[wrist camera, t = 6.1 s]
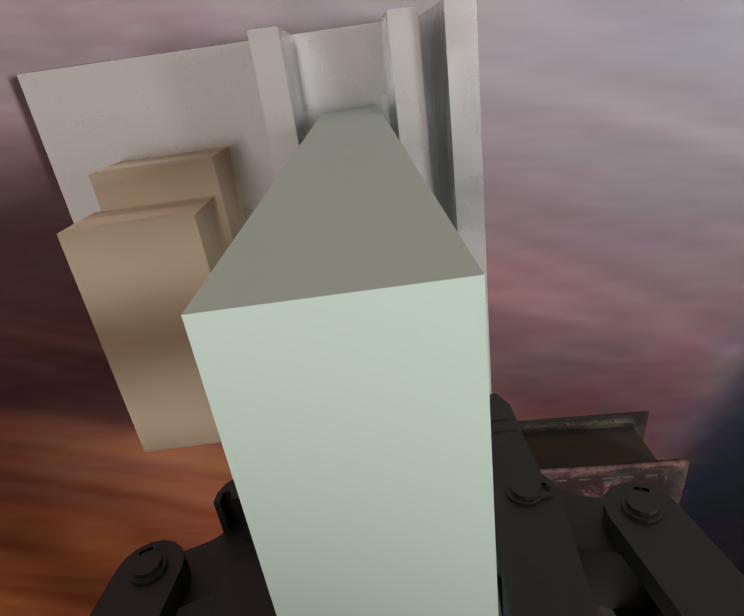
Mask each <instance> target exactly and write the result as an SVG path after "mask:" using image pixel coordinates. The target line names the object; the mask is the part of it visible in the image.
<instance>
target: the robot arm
mask: <svg viewBox="0 0 744 616" xmlns="http://www.w3.org/2000/svg"><path fill="white" fill-rule="evenodd" d="M489 395H490V419H491V443H492V468H493V492H494V516H495V541H496V565H497V589H498V606H499V611H500V616H598V614H597V611H596V608H595V605H596V606H600V608H601V610H602V612H603V613H604V615H605V616H744V576H743V574H742V573H741V572H740V571H739V570H738V569H737V568H736V567H735V566H734V565H733V564H732V562H731V561H730V560H729V559H728V558H727V557H726V556H725V555H724V554H723V553H722V552H721V550H720V549H719V548H718V547H717V546H716V545H715V544H714V543H713V542H712V541H711V540H710V538H709V537H708V536H707V535H706V534H705V533H704V532H703V531H702V530H701V529H700V528H699V526H698V525H697V524H696V523H695V522H694V521H693V520H692V519H691V518H690V517H689V516H688V514H687V513H686V512H685V511H684V510H683V509H682V508H681V507H680V506H679V505H678V504H677V503H676V501H675V500H673V499H672V498H671V497H670V496H669V495H667V494H666V493H665V492H664V491H662V490H659V489H657V488H655V487H653V486H651V485H647V484H642V483H637V482H627V483H620V484H617V485H615V486H612V487H610V489H609V490H608V491H607V492H606V493H605V495H604V499H602V498H594V497H587V496H580V495H575V494H571V493H568V492H565V491H563V490H560V489H558V488H557V487H556V486H555V484H554V482H552V481H551V480H550V479H549V478H547V477H546V476H545V475H542V473H541V472H540V470H539V467H538V465H537V463H536V461H535V459H534V457H533V454H532V452H531V450H530V448H529V446H528V444H527V441H526V439H525V437H524V435H523V433H522V431H521V429H520V426H519V424H518V422H517V420H516V418H515V416H514V413H513V411H512V409H511V407H510V405H509V404H508V403H507V402H506V401H505V400H503V399H502V398H501V397H500V396H498V395H497V394H489ZM214 506H215V508H216V511H217V514H218V517H219V520H220V523H221V526H222V529H223V532H224V533H223V534H221V535H220V536H219V537H217V538H215V539H213V540H211V541H209V542H207V543H205V544H202V545H199V546H197V547H194V548H192V549H189V550H187V551H183V549H182V547H181V546H179V545H178V544H177V543H176V542H173V541H167V540H162V541H156V542H151V543H149V544H147V545H145V546H143V547H141V548H138V549H137V550H136V551H135V552H133V553H132V554H131V555H129V556H128V557H127V558H126V559H125V560H124V561H123V563H122V564H121V565H120V566H119V568H118V569H117V571H116V572H115V574H114V576H113V577H112V579H111V581H110V582H109V584H108V586H107V587H106V589H105V591H104V593H103V594H102V596H101V598H100V599H99V601H98V603H97V604H96V606H95V608H94V609H93V611H92V613H91V614H90V616H277V615H276V612H275V609H274V606H273V603H272V599H271V596H270V593H269V590H268V587H267V584H266V581H265V577H264V574H263V571H262V568H261V565H260V562H259V559H258V555H257V552H256V549H255V546H254V543H253V540H252V536H251V533H250V530H249V527H248V524H247V521H246V518H245V514H244V511H243V508H242V505H241V502H240V499H239V496H238V492H237V489H236V486H235V483H234V480H231V481H229V482H228V483H226V484H225V485H224V486H223V487H222V489H221V490H220V491H219V492H218V493H217V495H216V498H215V500H214Z"/></svg>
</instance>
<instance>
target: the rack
mask: <svg viewBox="0 0 744 616" xmlns="http://www.w3.org/2000/svg"><path fill="white" fill-rule="evenodd" d="M247 34H248V39H249V41H245V42H238V43H231V44H224V45H217V46H210V47H203V48H196V49H190V50H183V51H176V52H169V53H162V54H155V55H148V56H142V57H135V58H128V59H121V60H114V61H107V62H100V63H93V64H87V65H80V66H73V67H66V68H59V69H52V70H45V71H39V72H32V73H25V74H18V75H17V77H18V80H19V82H20V85H21V88H22V90H23V93H24V95H25V98H26V101H27V103H28V106H29V108H30V111H31V114H32V116H33V119H34V121H35V124H36V127H37V129H38V132H39V134H40V137H41V139H42V142H43V145H44V147H45V150H46V152H47V155H48V158H49V160H50V163H51V165H52V168H53V171H54V173H55V176H56V178H57V181H58V184H59V186H60V189H61V191H62V194H63V197H64V199H65V202H66V204H67V207H68V209H69V212H70V215H71V217H72V220H73V222H74V224H75V223H77V222H78V221H80V220H82V219H84V218H85V217H87V216H89V215H91V214H92V213H94V212H101V209H100V206H99V203H98V200H97V198H96V195H95V192H94V189H93V187H92V184H91V181H90V178H89V175H88V174H91V173H93V172H96V171H98V170H101V169H103V168H105V167H108V166H110V165H113V164H115V163H117V162H122V161H129V160H136V159H143V158H150V157H157V156H164V155H172V154H179V153H186V152H193V151H200V150H207V149H214V148H221V147H229V151H230V155H231V160H232V164H233V168H234V172H235V176H236V180H237V185H238V189H239V193H240V197H241V201H242V205H243V210H244V214H245V218H246V222H247V220H248V219H249V217H250V216H251V214H252V213H253V212H254V210H255V209H256V207H257V206H258V204H259V203H260V201H261V200H262V199H263V197H264V196H265V194H266V193H267V191H268V190H269V189H270V187H271V186H272V184H273V183H274V181H275V180H276V179H277V177H278V176H279V174H280V173H281V171H282V170H283V169H284V167H285V166H286V164H287V163H288V161H289V160H290V159H291V157H292V156H293V154H294V153H295V151H296V150H297V149H298V147H299V146H300V144H301V143H302V141H303V140H304V139H305V137H306V136H307V134H308V133H309V131H310V130H311V129H312V127H313V126H314V124H315V123H316V121H317V120H318V119H319V117H320V116H321V114H323V113H330V112H338V111H345V110H352V109H359V108H366V107H373V106H378V108H379V109H380V111H381V112H382V114H383V115H384V117H385V119H386V120H387V122H388V123H389V125H390V127H391V128H392V130H393V131H394V133H395V134H396V136H397V138H398V139H399V141H400V142H401V144H402V145H403V147H404V149H405V150H406V152H407V153H408V155H409V156H410V158H411V160H412V161H413V163H414V164H415V166H416V167H417V169H418V171H419V172H420V174H421V175H422V177H423V178H424V180H425V182H426V183H427V185H428V186H429V188H430V190H431V191H432V193H433V194H434V196H435V197H436V199H437V201H438V202H439V204H440V205H441V207H442V208H443V210H444V212H445V213H446V215H447V216H448V218H449V219H450V221H451V223H452V224H453V226H454V227H455V229H456V230H457V232H458V234H459V235H460V237H461V238H462V240H463V242H464V243H465V245H466V246H467V248H468V249H469V251H470V253H471V254H472V256H473V257H474V259H475V260H476V262H477V264H478V265H479V267H480V268H481V270H482V271H483V273H484V275H485V297H486V322H487V346H488V370H489V394H491V374H490V347H489V321H488V295H487V269H486V243H485V217H484V190H483V164H482V138H481V112H480V86H479V60H478V33H477V7H476V0H441V1H440V2H438V3H437V4H436V5H434V6H433V7H432V8H430V9H429V10H427V11H426V12H425V13H423V14H422V15H421V16H418V11H417V6H411V7H404V8H397V9H390V10H386V12H385V13H384V15H383V16H382V18H381V20H380V21H379V22H375V23H368V24H361V25H354V26H347V27H341V28H334V29H327V30H320V31H313V32H306V33H299V34H291V33H289V32H287V31H285V30H283V29H282V28H280V27H278V26H274V27H267V28H260V29H253V30H247Z"/></svg>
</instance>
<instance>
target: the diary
mask: <svg viewBox="0 0 744 616" xmlns="http://www.w3.org/2000/svg"><path fill="white" fill-rule="evenodd" d="M648 415H649V411H642V412H629V413H616V414H603V415H590V416H577V417H564V418H551V419H538V420H525V421H517V422H518V424H519V426H520V429H521V431H522V433H523V435H524V437H525V439H526V441H527V444H528V446H529V448H530V450H531V452H532V454H533V457H534V459H535V461H536V463H537V465H538V467H539V470H540V472H541V473H542V475H545V476H546V477H547V478H549V479H550V480H551V481H552V482H554V484H555V486H556V487H557V488H558V489H560V490H563V491H565V492H568V493H571V494H575V495H580V496H587V497H594V498H602V499H604V495H605V493H606V492H607V491H608V490H609V489H610V487H612V486H615V485H617V484H620V483H627V482H637V483H642V484H647V485H651V486H653V487H655V488H657V489H659V490H662V491H664V492H665V493H666V494H667V495H669V496H670V497H671V498H672V499H673V500H675V501H676V503H677V504H678V505H679V502H680V498H681V494H682V491H683V487H684V483H685V479H686V475H687V471H688V467H689V463H690V462H689V459H673V460H659V461H657V459H656V458H655V457H654V455H653V454H652V453H651V451H650V450H649V449H648V447H647V446H646V445H645V443H644V442H643V437H644V433H645V429H646V425H647V420H648ZM595 608H596V611H597V614H598V616H605V615H604V613H603V612H602V610H601V608H600V606H596V605H595ZM498 613H499V616H500V611H499V606H498Z"/></svg>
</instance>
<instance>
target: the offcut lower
mask: <svg viewBox="0 0 744 616" xmlns="http://www.w3.org/2000/svg"><path fill="white" fill-rule="evenodd" d="M88 175H89V178H90V181H91V184H92V187H93V189H94V192H95V195H96V198H97V200H98V203H99V206H100V209H101V211H108V210H115V209H122V208H129V207H137V206H144V205H151V204H158V203H165V202H173V201H180V200H187V199H194V198H201V197H209V196H215V200H216V204H217V208H218V212H219V215H220V219H221V223H222V227H223V231H224V235H225V238H226V242H227V246H228V247H229V246H230V244H231V243H232V242H233V240H234V239H235V237H236V236H237V234H238V233H239V232H240V230H241V229H242V227H243V226H244V224H245V223H246V218H245V214H244V210H243V205H242V201H241V197H240V193H239V189H238V185H237V180H236V176H235V172H234V168H233V164H232V160H231V155H230V151H229V147H221V148H214V149H207V150H200V151H193V152H186V153H179V154H172V155H164V156H157V157H150V158H143V159H136V160H129V161H122V162H117V163H115V164H113V165H110V166H108V167H105V168H103V169H101V170H98V171H96V172H93V173H91V174H88Z"/></svg>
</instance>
